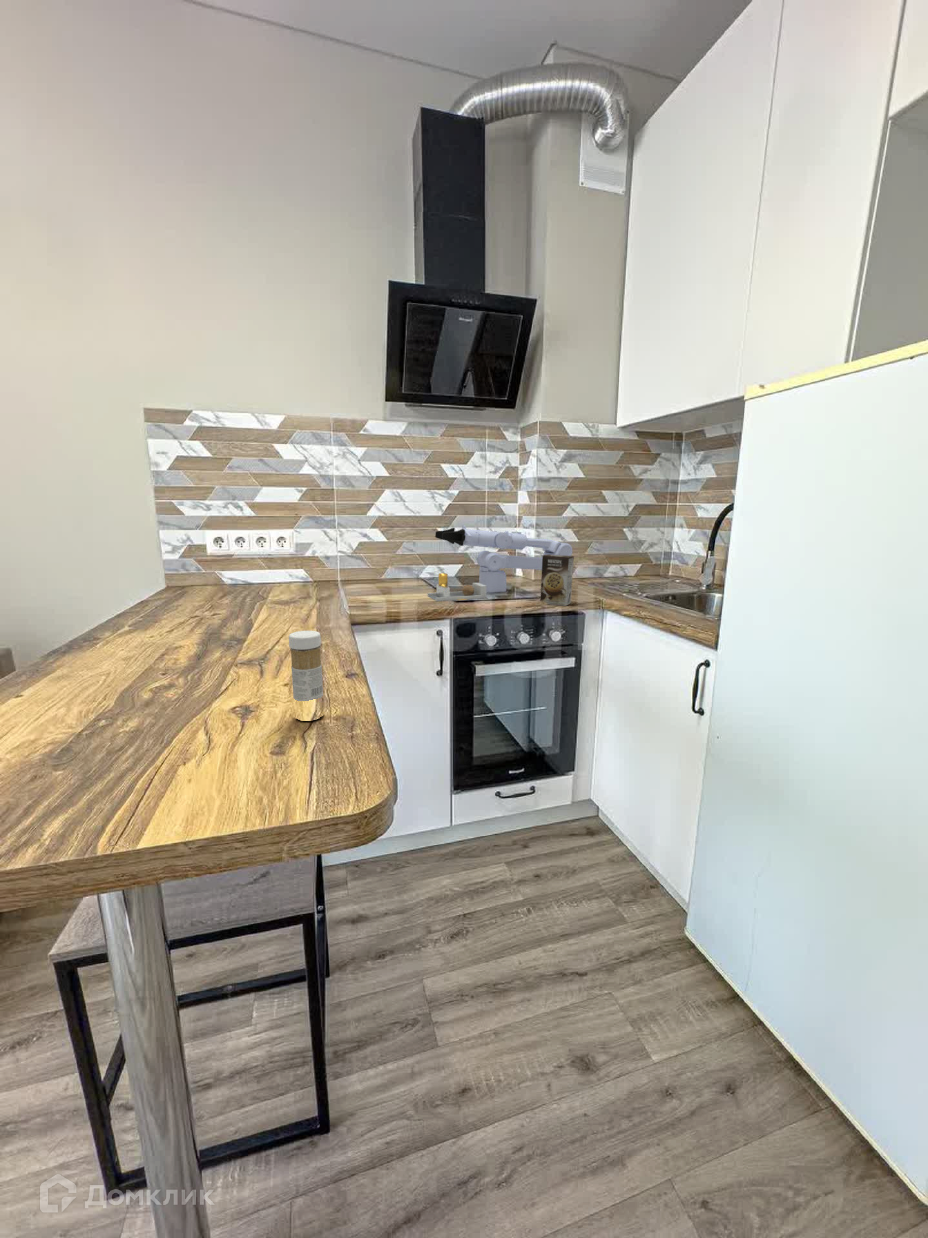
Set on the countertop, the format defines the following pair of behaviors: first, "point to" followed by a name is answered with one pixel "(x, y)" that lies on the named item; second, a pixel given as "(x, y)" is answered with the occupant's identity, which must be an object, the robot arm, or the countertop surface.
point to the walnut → (468, 590)
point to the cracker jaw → (443, 586)
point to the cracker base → (478, 594)
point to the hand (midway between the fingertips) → (439, 535)
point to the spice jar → (306, 665)
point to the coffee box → (556, 579)
